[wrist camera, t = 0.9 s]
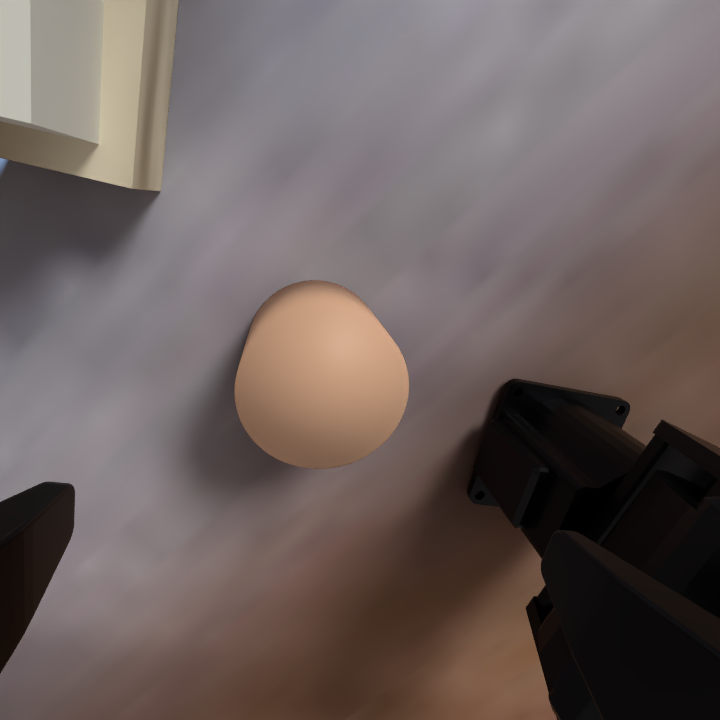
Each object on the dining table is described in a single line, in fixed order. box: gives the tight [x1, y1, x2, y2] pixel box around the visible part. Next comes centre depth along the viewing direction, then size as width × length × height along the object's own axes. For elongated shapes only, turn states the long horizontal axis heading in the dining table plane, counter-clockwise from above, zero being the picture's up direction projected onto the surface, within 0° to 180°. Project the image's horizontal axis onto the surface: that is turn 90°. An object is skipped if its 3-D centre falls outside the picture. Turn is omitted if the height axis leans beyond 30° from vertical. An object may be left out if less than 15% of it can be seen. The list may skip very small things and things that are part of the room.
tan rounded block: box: [234, 280, 409, 469], centre depth 16 cm, size 5×5×5 cm
